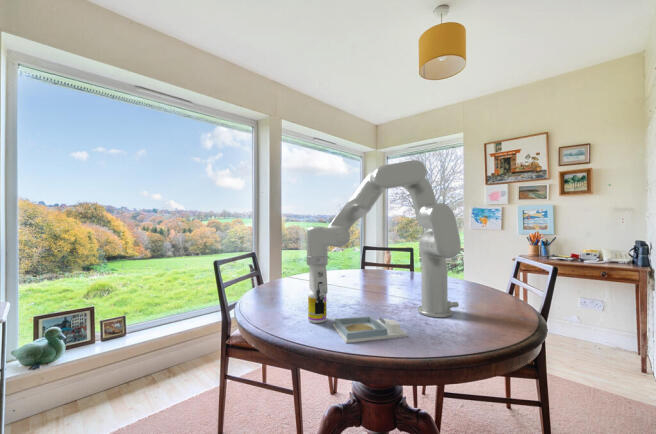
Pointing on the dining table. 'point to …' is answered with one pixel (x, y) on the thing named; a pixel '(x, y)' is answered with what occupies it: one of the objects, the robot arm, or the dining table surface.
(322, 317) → the supplement bottle
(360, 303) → the dining table surface
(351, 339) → the charging dock
